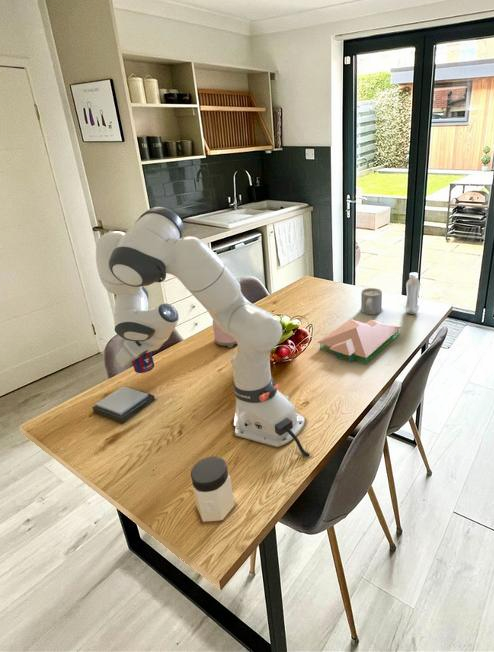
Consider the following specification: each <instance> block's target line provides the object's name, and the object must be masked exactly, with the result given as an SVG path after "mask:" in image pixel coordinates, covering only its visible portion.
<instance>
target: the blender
mask: <svg viewBox="0 0 494 652" xmlns="http://www.w3.org/2000/svg"><path fill="white" fill-rule="evenodd" d="M230 272H231V273H232V274H233V275H234V277H235V278H236V276H235V273H234V272H233V271H231V270H230ZM240 291H241V292H242V288H241V289H240ZM212 329H213V334H214V342H215V344H217V345H219V346H226V347H227V348H228V349H230V348H233V347H234V345H238V344H237V342H236V340H235V339H234V338H233V337H231V336H229V335H228V334H226V333H225V332H223V331H222V330H221V329H220V328H219V327H218V326H217V324H216V323H215V322H214V320H213V319H212Z"/></svg>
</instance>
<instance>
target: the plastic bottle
mask: <svg viewBox="0 0 494 652" xmlns="http://www.w3.org/2000/svg"><path fill="white" fill-rule="evenodd" d="M418 278H419V273H418V272H410V273H409V279H408V280H407V281H406V283H405V287H406V300H405V304H404V311H405V312H406V314H410V315H411V314H412V315H413V314H417V313H418V312H419V309H420V306H419V294H420V290H421V289H420V288H421V282H420V280H419V279H418Z"/></svg>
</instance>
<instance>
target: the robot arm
mask: <svg viewBox="0 0 494 652" xmlns="http://www.w3.org/2000/svg"><path fill="white" fill-rule="evenodd" d="M184 229H185V228H184V223H183V221H182V219H181V217H180V216H179V215H178V214H177V213H175V212H174V211H173V210H171V209H170V208H167V207H164V206H154V207H151V208H149V209H148V210H146V211H144V212H143V213H142V214H141V215H140V216H139V217H138V219H136V221H135V222H134V224H133V225H132V226H131V227H130V228H129V229H128V230H127V231H126V232H125V231H119V230H112V231H109V232H106V233H104V234H102V235H101V236H100V237H99V238H98V240H97V242H96V246H95V263H96V269H97V273H98V277H99V279H100V282H101V284H102V285H103V287H104V289H105V290H106V291H107V292H108V293H111V294H113V295H114V332H115V333H116V334H117V335H118V336H119V337H120V338H122V339H124V341H123V343H122V344H123V346H122V347H121V348H120V350H119V351H118V353H117V354H116V356H115V361H116V363H117V364H118V365H119V367H120V366H121V367H125V366H127V365H130V364H132V361H134V360H135V359H137V358H139V357H140V356H142V355H144V354H145V353H148V352H151V353H152V352H154V351H158V350H159V349H160V348H161V347H162V346H163V345H164V344H165V342H167V341H168V340H169V339H170V337H171V335H172V333H173V331H174V330H175V328H176V326H177V325H178V322H179V320H180V319H179V312H178V310H177V309H176V308H175V307H174V306H173V305H172V304H171V303H166V302H165V303H164V302H163V303H161V304H159V305H157V306H155V307H153V308H149V291H148V290H147V288H145V287H147V286H150V285H152V284H154V283H163V282H164V281H165V280H166V278H167V275H171V276H174V277H175V278H177V280H178V281H180V283H182V285H183V286H184V288H186V289H187V290H188V292H189V293H190V294H191V295H192V296H193V297H194V298H195V299H196V300H197V301H198V302H199V303H200V305H202V306H203V308H204V309H205V310H206V311H207V312H208V314H209V316H210V317H211V319H212V321H213V320H214V322H215V323H216V324H217V326H218V327H219V328H220V329H221V330H222V331H223V332H225V333H226V334H228V335H229V336H231V337H233V338H234V339H235V340H236V342H237V344H236V345H237V352H236V353H235V354H234V355H233V357H232V359H231V369H232V375H233V382H232V389H233V394H234V397H235V413H234V420H233V426H235V428H234V435H235V436H236V437H239V438H243V439H245V440H250V441H253V442H258V443H261V444H264V445H268V446H271V447H276V448H279V447H282V446H284V445H287V444H288V443H290V442H291V441H292V440H294V441H295V444H296V445H297V448H298V449H299V451H300V453H301V454H302V455H303V456H305V457H306V458H308V457H309V456H310V453H309V452H307V451H306V450H305V449H304V448H303V445H302V444H301V442H300V440H299V438H298V437H297V436H298V435H299V434H300V433H301V431H302V430H303V428H304V426H305V423H306V420H305V416H302V415H301V414H299V412H297V410H296V407H295V405H294V404H293V403H292V402H291V399H290V397H289V396H288V395H284V394H283V393H282V392H281V391H280V390H279V389H278V388H279V387H280V385H279V384H280V383H279V382H278V383H277V384H276V382H275V380H274V378H273V376H272V372H271V371H272V370H271V352H272V350H273V349H274V348H276V347H277V345H278V344H279V343H280V341H281V339H282V337H283V326H282V324H281V322H280V320H278V319H277V318H276V317H275V316H274V315H273V314H272V313H271V312H269V311H268V310H265V309H263V308H261V307H259V306H257V305H256V304H254V303H252V302H250V301H249V300H248V299H247V298H246V297H245V296H244V294H243V293H242V288H241V287H242V286H241V283H240V282H239V280H238V279H237V278H236V276H235V277H234V275H235V274H234V275H233V274H232V273H231V272H232V271H231V270H230V269H229V268H228V267H227V265H226V264H225V263H224V261H223V260H222V259H221V258H220V257H219V255H217V254H216V252H214V251H213V249H211V248H210V246H209V245H207V244H206V243H205V242H203V240H201V239H200V238H198V237H196V236H192V235H191V236H190V235H188V236H184V231H185V230H184ZM230 271H231V272H230ZM240 289H241V291H240Z"/></svg>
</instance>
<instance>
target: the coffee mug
mask: <svg viewBox="0 0 494 652" xmlns="http://www.w3.org/2000/svg"><path fill="white" fill-rule="evenodd" d="M360 295H361V296H360V297H361V298H360V299H361V300H360V301H361V302H360V303H361V305H360V306H361V307H360V310H361V312H362V313H363V314H366V315H377V314H380V313H381V312H382V304H383V303H382V301H383V291H382V290H381V289H380V288H376V287H367V288H364V289H362V290H361V294H360Z"/></svg>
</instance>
